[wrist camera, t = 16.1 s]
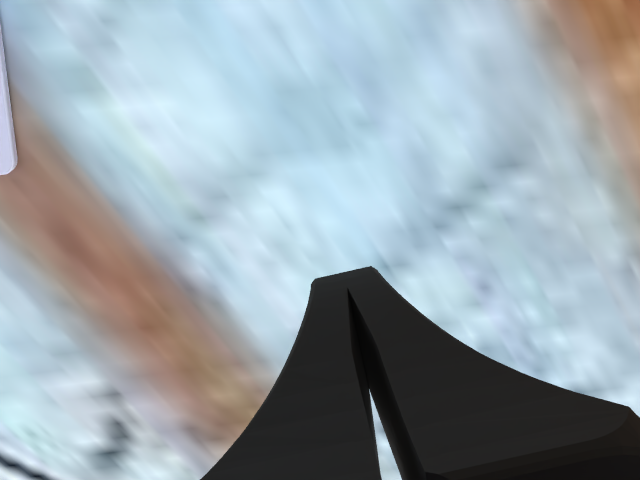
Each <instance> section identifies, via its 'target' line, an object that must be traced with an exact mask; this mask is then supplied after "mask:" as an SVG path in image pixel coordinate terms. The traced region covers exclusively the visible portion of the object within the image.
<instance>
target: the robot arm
mask: <svg viewBox="0 0 640 480" xmlns="http://www.w3.org/2000/svg"><path fill="white" fill-rule="evenodd" d="M17 159H18V158H17V150H16V143H15V135H14V127H13V119H12V111H11V103H10V95H9V88H8V80H7V72H6V64H5V56H4V48H3V40H2V32H1V25H0V175H4V174H7V173H9V172H11V171H12V170H13V169H14V168H15V167H16V165H17ZM369 389H370V392H371V395H372V398H373V401H374V403H375V406H376V409H377V412H378V414H379V417H380V420H381V423H382V425H383V428H384V431H385V433H386V436H387V439H388V442H389V444H390V447H391V450H392V453H393V455H394V458H395V461H396V464H397V466H398V469H399V472H400V474H401V478H402V480H640V417H638V416H637V415H636V414H635V413H634V412H633V411H632V409H631V408H629V407H628V406H624V405H621V404H617V403H613V402H610V401H606V400H602V399H598V398H595V397H591V396H587V395H584V394H580V393H576V392H573V391H570V390H567V389H564V388H561V387H558V386H555V385H553V384H550V383H547V382H544V381H541V380H538V379H536V378H533V377H531V376H528V375H526V374H523V373H521V372H519V371H516V370H514V369H512V368H510V367H508V366H505V365H503V364H501V363H499V362H497V361H495V360H492V359H490V358H489V357H487V356H485V355H483V354H481V353H479V352H477V351H476V350H474V349H472V348H470V347H469V346H467V345H465V344H464V343H462V342H461V341H459V340H457V339H456V338H454V337H453V336H451V335H450V334H448V333H447V332H446V331H444V330H443V329H441V328H440V327H439V326H437V325H436V324H435V323H433V322H432V321H431V320H429V319H428V318H427V317H425V316H424V315H423V314H422V313H420V312H419V311H418V310H417V309H416V308H415V307H413V306H412V305H411V304H410V303H409V302H408V301H406V300H405V299H404V298H403V297H402V296H401V295H400V294H399V293H398V292H397V291H396V290H395V289H394V288H393V287H392V286H391V285H390V284H389V283H388V282H387V281H386V280H385V279H384V278H383V277H382V276H381V274H380V273H379V272H378V271H377V270H376V269H375V268H373V267H372V266H370V267H365V268H361V269H356V270H352V271H347V272H343V273H338V274H334V275H330V276H325V277H321V278H316V279H315V280H314V281H313V282H312V284H311V291H310V296H309V301H308V305H307V308H306V312H305V315H304V318H303V321H302V324H301V327H300V330H299V332H298V335H297V338H296V340H295V343H294V345H293V347H292V350H291V352H290V354H289V356H288V359H287V361H286V363H285V365H284V367H283V369H282V371H281V373H280V375H279V377H278V379H277V381H276V383H275V384H274V386H273V388H272V389H271V391H270V393H269V395H268V396H267V398H266V399H265V401H264V403H263V404H262V406H261V407H260V409H259V410H258V411H257V413H256V414H255V416H254V417H253V419H252V420H251V422H250V423H249V425H248V426H247V427H246V429H245V430H244V431H243V433H242V434H241V435H240V437H239V438H238V439H237V440H236V441H235V442H234V444H233V445H232V446H231V447H230V448H229V450H228V451H227V452H226V453H225V454H224V455H223V457H222V458H221V459H220V460H219V461H218V462H217V463H216V464H215V465H214V466H213V467H212V469H211V470H210V471H209V472H208V473H207V474H206V475H205V476H204V477H203V478H202V479H200V480H382V479H381V475H380V467H379V460H378V452H377V445H376V437H375V430H374V422H373V415H372V407H371V400H370V392H369Z"/></svg>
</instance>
